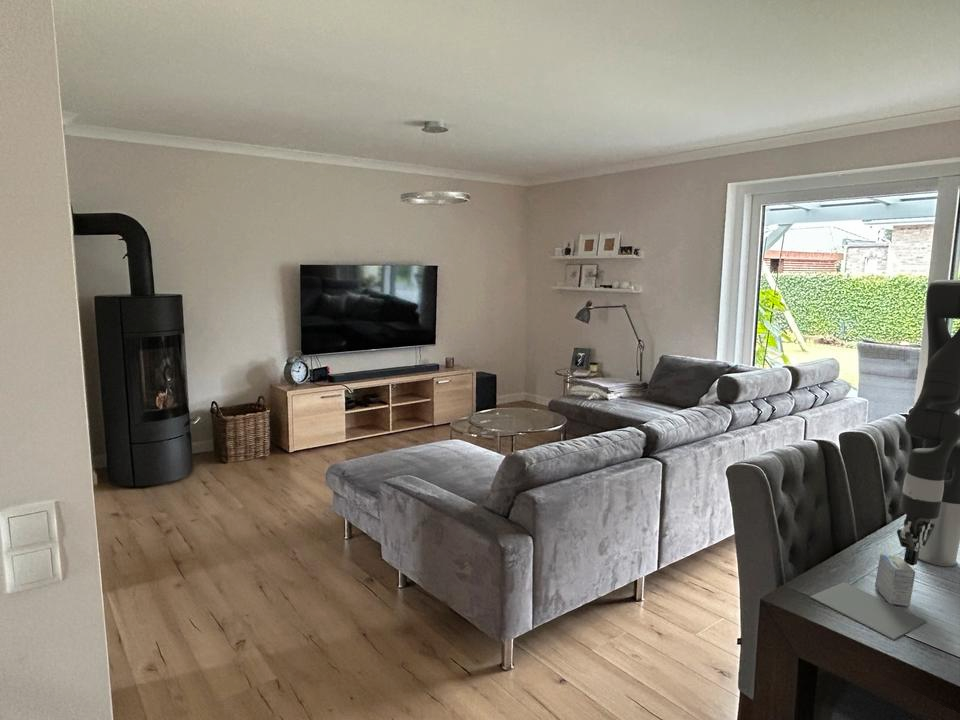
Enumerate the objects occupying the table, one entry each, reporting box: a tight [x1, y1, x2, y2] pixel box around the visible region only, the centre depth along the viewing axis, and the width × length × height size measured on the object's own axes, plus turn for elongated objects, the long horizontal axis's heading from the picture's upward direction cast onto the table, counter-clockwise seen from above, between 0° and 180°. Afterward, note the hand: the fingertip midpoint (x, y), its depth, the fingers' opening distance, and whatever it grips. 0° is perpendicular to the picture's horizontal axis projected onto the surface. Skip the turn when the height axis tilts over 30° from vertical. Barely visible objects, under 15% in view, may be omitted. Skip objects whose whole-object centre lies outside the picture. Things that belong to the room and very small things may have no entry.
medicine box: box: [874, 554, 916, 607], centre depth 144 cm, size 8×4×9 cm, turn 169°
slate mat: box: [809, 581, 928, 641], centre depth 139 cm, size 14×18×1 cm
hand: (910, 563), depth 147 cm, fingers closed
